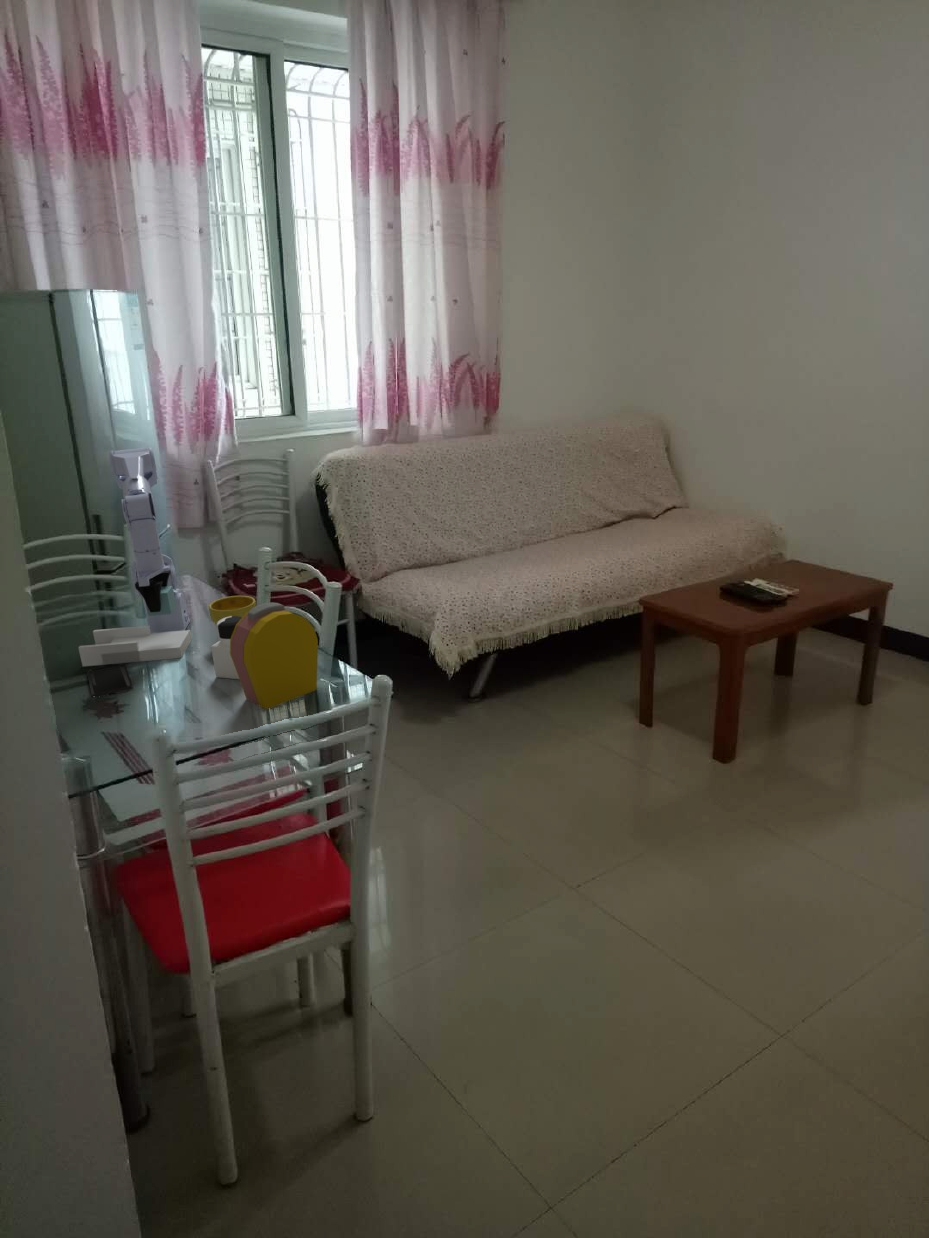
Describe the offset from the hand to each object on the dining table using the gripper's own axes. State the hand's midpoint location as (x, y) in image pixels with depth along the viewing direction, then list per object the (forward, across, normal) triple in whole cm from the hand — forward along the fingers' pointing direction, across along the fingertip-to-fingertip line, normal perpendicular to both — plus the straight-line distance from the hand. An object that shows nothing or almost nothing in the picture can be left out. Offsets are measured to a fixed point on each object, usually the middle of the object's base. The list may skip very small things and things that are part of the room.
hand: (158, 607), depth 189 cm
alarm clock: (+11, -30, -29) cm, 43 cm away
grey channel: (+10, 0, +6) cm, 12 cm away
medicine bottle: (+11, -17, -19) cm, 28 cm away
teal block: (+1, 0, -1) cm, 1 cm away
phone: (+11, -16, +8) cm, 21 cm away
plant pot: (+11, +1, -16) cm, 19 cm away
